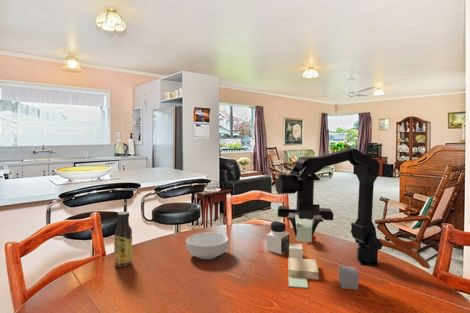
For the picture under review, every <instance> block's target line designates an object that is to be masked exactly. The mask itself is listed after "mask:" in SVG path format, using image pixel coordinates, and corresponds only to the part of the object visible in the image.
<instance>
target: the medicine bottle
mask: <svg viewBox="0 0 470 313" xmlns="http://www.w3.org/2000/svg"><path fill="white" fill-rule="evenodd" d="M286 226H287V225H286V223H285V222H283V221H282V220H274V221H272V222H270V232H269V233H267V234H266V251H267V252H270V253H275V254H277V255H283V254H285V253H286V252H287V251H289V243H290V233H289V232H286Z"/></svg>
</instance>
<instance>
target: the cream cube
mask: <svg viewBox="0 0 470 313" xmlns="http://www.w3.org/2000/svg"><path fill="white" fill-rule="evenodd" d="M303 251H304V250H303V244H302V243H290V242H289V250H288V258H300V259H304V258H303V253H304V252H303Z"/></svg>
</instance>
